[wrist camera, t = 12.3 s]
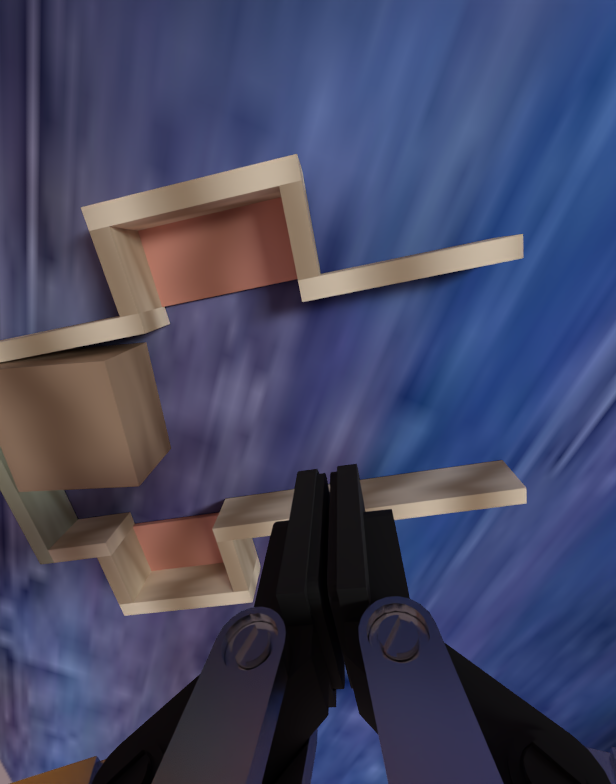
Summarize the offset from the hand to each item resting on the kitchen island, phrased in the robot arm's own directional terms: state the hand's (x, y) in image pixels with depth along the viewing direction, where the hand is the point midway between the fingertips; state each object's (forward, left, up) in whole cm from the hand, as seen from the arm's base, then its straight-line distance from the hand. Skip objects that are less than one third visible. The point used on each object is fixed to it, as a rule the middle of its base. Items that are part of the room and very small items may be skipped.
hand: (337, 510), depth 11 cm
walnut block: (+14, -1, -12) cm, 19 cm away
